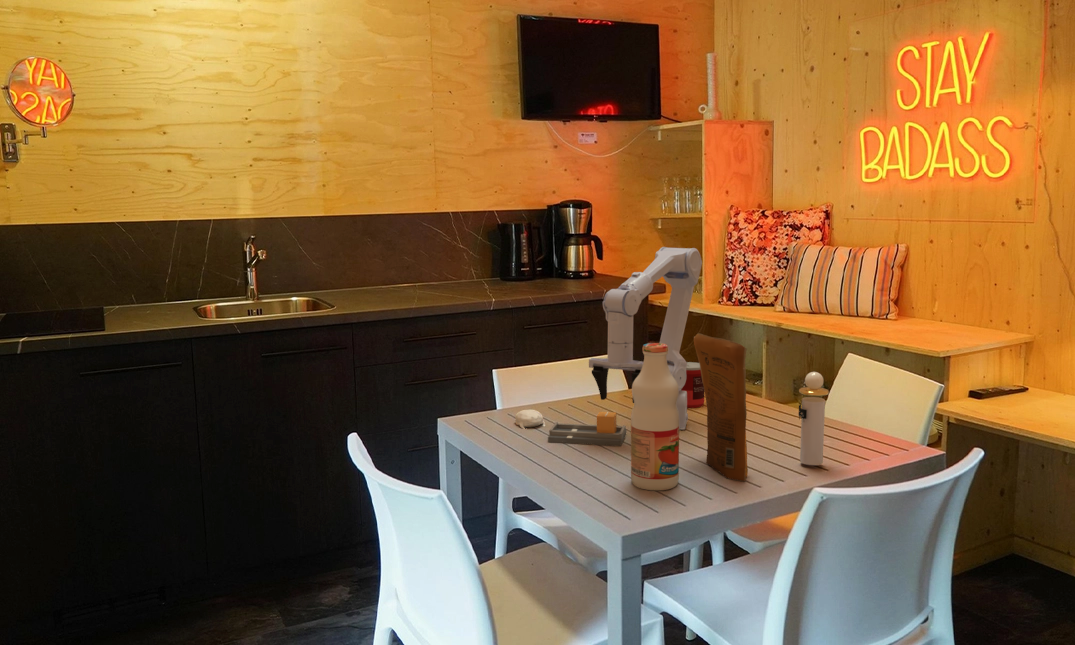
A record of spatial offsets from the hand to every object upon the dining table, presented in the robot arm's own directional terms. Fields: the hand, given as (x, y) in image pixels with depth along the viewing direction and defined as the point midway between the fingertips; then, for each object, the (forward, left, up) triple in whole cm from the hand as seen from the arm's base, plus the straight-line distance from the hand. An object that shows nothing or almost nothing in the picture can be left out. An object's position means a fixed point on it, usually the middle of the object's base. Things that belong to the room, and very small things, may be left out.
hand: (619, 400), depth 193 cm
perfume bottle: (-42, +9, -10) cm, 44 cm away
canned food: (-14, -37, -10) cm, 41 cm away
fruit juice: (-11, +26, -10) cm, 30 cm away
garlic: (+24, -11, -10) cm, 28 cm away
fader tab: (+3, -2, -9) cm, 9 cm away
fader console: (+7, -2, -10) cm, 13 cm away
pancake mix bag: (-24, +15, -10) cm, 30 cm away
